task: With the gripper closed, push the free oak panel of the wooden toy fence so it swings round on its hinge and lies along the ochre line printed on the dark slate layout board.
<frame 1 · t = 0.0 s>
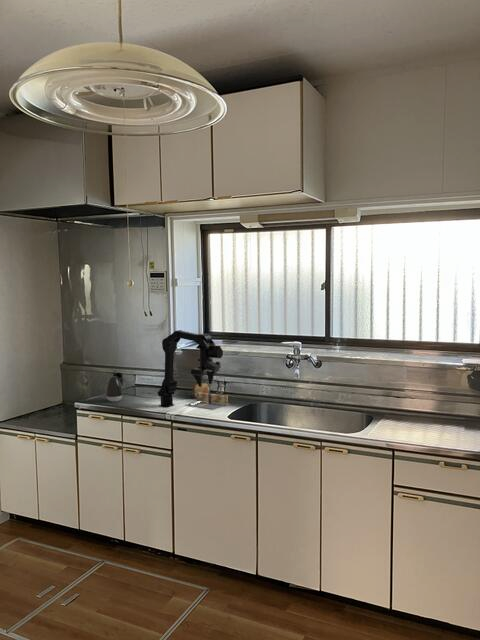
hand: (205, 385, 303), 15 cm above the countertop, tool pointing down, fingers open, 9 cm apart
fence fixed: (210, 403, 324), resting on layout card
fence gate: (219, 398, 320), point 3 cm above the countertop, hinge at 0.0°
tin: (200, 397, 343), on the countertop
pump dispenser: (114, 401, 334), on the countertop
layout card: (207, 404, 320), on the countertop
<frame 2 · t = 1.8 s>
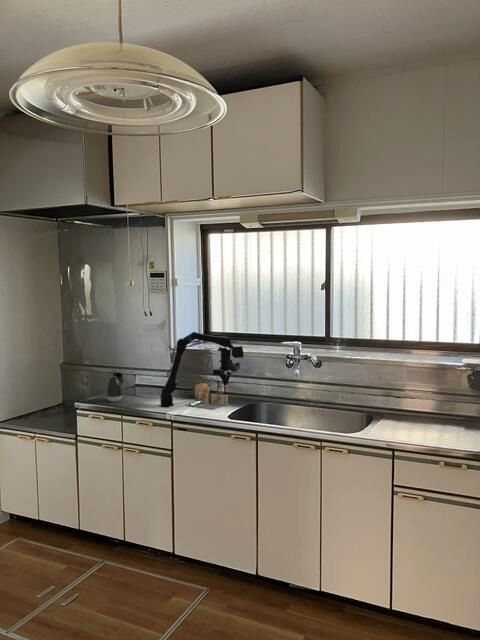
hand: (225, 384, 323), 11 cm above the countertop, tool pointing down, fingers closed
nothing on the countertop moved.
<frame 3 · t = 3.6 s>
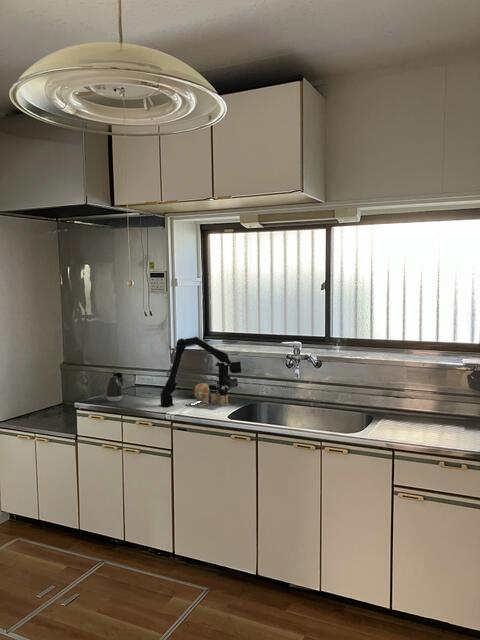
hand: (223, 400, 322), 2 cm above the countertop, tool pointing down, fingers closed
fence gate: (219, 398, 320), point 3 cm above the countertop, hinge at 0.0°, touching gripper
everything else where it was.
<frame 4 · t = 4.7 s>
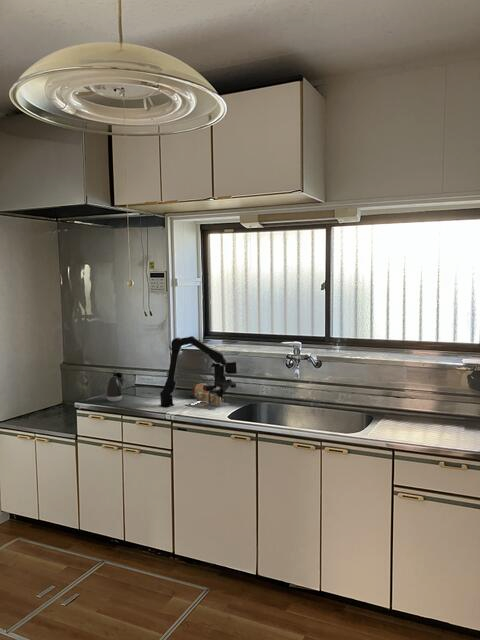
hand: (220, 400, 319), 3 cm above the countertop, tool pointing down, fingers closed
fence gate: (215, 399, 318), point 3 cm above the countertop, hinge at -25.2°, touching gripper
everything else where it was.
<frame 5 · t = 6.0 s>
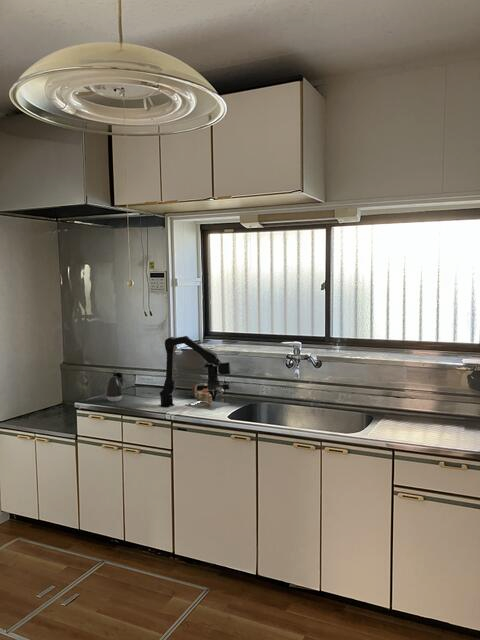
hand: (214, 401, 316), 3 cm above the countertop, tool pointing down, fingers closed
fence gate: (209, 400, 317), point 3 cm above the countertop, hinge at -54.2°, touching gripper
everything else where it was.
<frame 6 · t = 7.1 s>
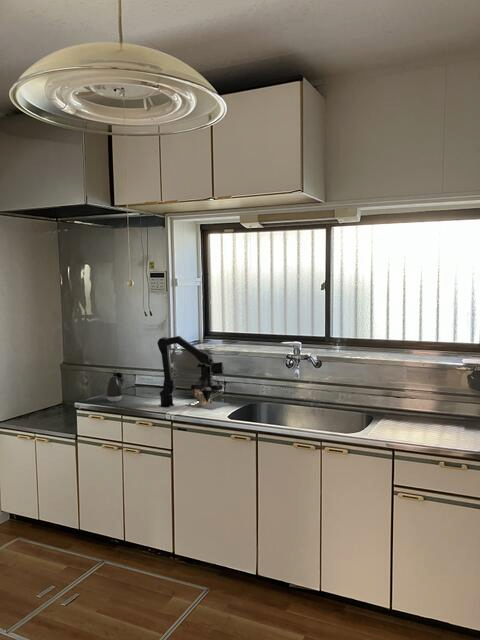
hand: (207, 401, 316), 3 cm above the countertop, tool pointing down, fingers closed
fence gate: (204, 400, 318), point 3 cm above the countertop, hinge at -81.2°, touching gripper
everything else where it was.
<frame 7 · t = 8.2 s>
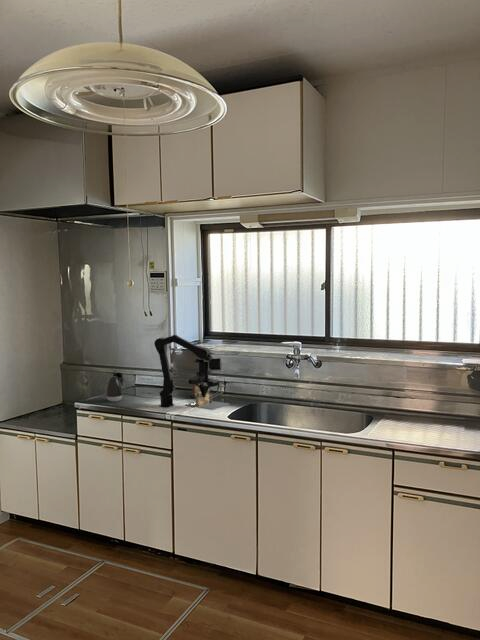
hand: (203, 397, 316), 5 cm above the countertop, tool pointing down, fingers closed
fence gate: (202, 399, 319), point 3 cm above the countertop, hinge at -92.7°
everything else where it was.
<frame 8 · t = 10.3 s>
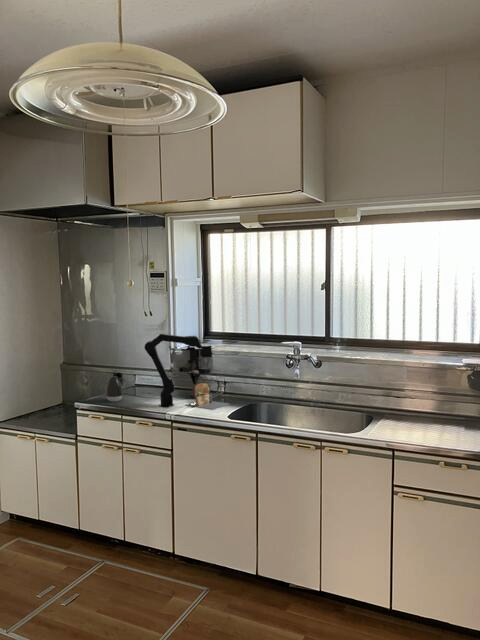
hand: (194, 384, 320), 12 cm above the countertop, tool pointing down, fingers closed
nothing on the countertop moved.
at the end: fence gate at -93° (first picture: +0°); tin moved 0.3 cm from its start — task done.
